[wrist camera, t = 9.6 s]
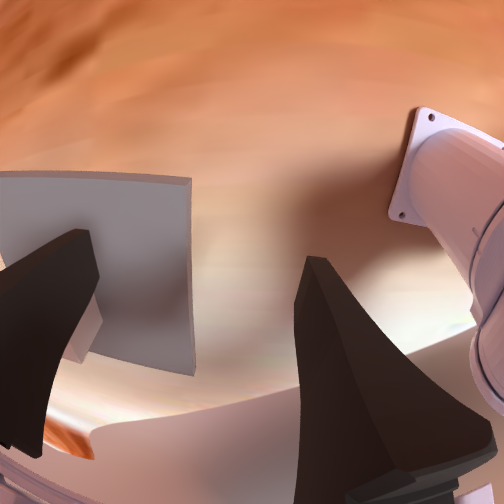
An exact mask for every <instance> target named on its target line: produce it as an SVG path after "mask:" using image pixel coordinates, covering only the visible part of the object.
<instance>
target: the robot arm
mask: <svg viewBox="0 0 504 504" xmlns="http://www.w3.org/2000/svg"><path fill="white" fill-rule="evenodd" d="M429 114H432V119H431V120H429V119H428V116H429ZM502 148H503V150H502ZM401 212H404V213H403V215H402V216H399V214H400V213H401ZM388 216H389V217H390V219H391V220H394V221H399V222H404V223H409V224H413V225H418V226H423V227H428V228H429V229H430V230H431V232H432V233H433V234H434V236H435V237H436V238H437V240H438V241H439V243H440V244H441V246H442V247H443V248H444V250H445V251H446V253H447V254H448V256H449V257H450V259H451V260H452V262H453V263H454V265H455V266H456V268H457V269H458V271H459V272H460V274H461V276H462V277H463V279H464V280H465V282H466V284H467V285H468V287H469V289H470V290H471V292H472V293H473V297H474V298H473V304H472V306H471V309H470V312H471V314H472V316H473V318H474V320H475V321H476V323H477V325H478V327H479V329H478V330H477V331H476V333H475V335H474V337H473V339H472V342H471V347H470V366H471V371H472V374H473V378H474V380H475V382H476V385H477V387H478V389H479V391H480V392H481V394H482V396H483V397H484V399H485V400H486V401H487V403H488V404H489V405H490V406H491V407H492V408H493V409H494V410H495V411H497V412H498V413H499V414H501V415H502V416H504V143H503V142H501V141H499V140H497V139H495V138H493V137H491V136H490V135H488V134H486V133H484V132H482V131H480V130H478V129H475V128H473V127H471V126H469V125H467V124H465V123H463V122H460V121H458V120H456V119H454V118H451V117H449V116H447V115H444V114H442V113H439V112H437V111H434V110H432V109H429V108H426V107H419V108H418V109H417V111H416V114H415V119H414V123H413V127H412V131H411V135H410V139H409V143H408V147H407V150H406V154H405V158H404V161H403V165H402V168H401V172H400V175H399V178H398V182H397V185H396V188H395V191H394V194H393V197H392V200H391V203H390V206H389V209H388ZM99 278H100V275H99V271H98V267H97V263H96V259H95V255H94V250H93V246H92V241H91V236H90V231H89V230H85V229H76V228H75V229H73V230H70V231H68V232H66V233H64V234H62V235H60V236H59V237H57V238H55V239H53V240H51V241H50V242H48V243H46V244H45V245H43V246H41V247H40V248H38V249H36V250H35V251H33V252H32V253H30V254H28V255H27V256H25V257H23V258H22V259H20V260H18V261H17V262H15V263H13V264H12V265H10V266H8V267H7V268H5V269H4V270H2V271H0V445H2V446H3V447H5V448H6V449H8V450H9V449H10V447H11V446H13V447H15V448H17V449H18V450H20V451H22V452H23V453H25V454H27V455H29V456H30V457H32V458H39V457H41V456H42V445H43V432H44V424H45V417H46V411H47V406H48V401H49V397H50V393H51V389H52V385H53V381H54V378H55V375H56V372H57V369H58V366H59V363H60V360H61V358H62V355H63V353H64V351H65V348H66V346H67V344H68V342H69V340H70V338H71V337H72V335H73V333H74V331H75V329H76V327H77V325H78V323H79V321H80V320H81V318H82V316H83V314H84V312H85V310H86V308H87V306H88V305H89V303H90V301H91V298H92V296H93V293H94V291H95V289H96V286H97V283H98V281H99ZM294 337H295V346H296V356H297V365H298V374H299V384H300V398H301V416H300V418H301V419H300V421H301V422H300V442H299V459H298V469H297V480H296V488H295V496H294V503H293V504H494V498H493V492H492V486H491V483H487V484H484V485H482V486H480V487H478V488H476V489H474V490H471V491H469V492H467V493H465V494H462V495H460V496H458V497H455V498H454V496H453V491H454V490H456V489H458V487H459V483H458V477H460V476H462V475H464V474H466V473H468V472H470V471H472V470H473V469H475V468H477V467H479V466H481V465H482V464H484V463H486V462H487V461H489V460H490V459H492V458H493V457H494V456H496V454H497V452H498V449H497V445H496V442H495V438H494V434H493V430H492V427H491V424H490V421H488V420H487V419H485V418H483V417H482V416H480V415H479V414H477V413H476V412H474V411H473V410H471V409H470V408H468V407H466V406H465V405H463V404H462V403H460V402H459V401H458V400H456V399H455V398H454V397H452V396H451V395H450V394H448V393H447V392H446V391H445V390H443V389H442V388H441V387H439V386H438V385H437V384H436V383H435V382H433V381H432V380H431V379H430V378H429V377H427V376H426V375H425V374H424V373H423V372H422V371H421V370H420V369H419V368H418V367H416V366H415V365H414V364H413V363H412V362H411V361H410V360H409V359H408V358H407V357H406V356H405V355H404V354H403V353H402V352H401V351H400V350H399V349H398V348H397V347H396V346H395V345H394V344H393V343H392V342H391V341H390V339H389V338H388V337H387V336H386V335H385V334H384V333H383V332H382V331H381V329H380V328H379V327H378V326H377V325H376V323H375V322H374V321H373V320H372V319H371V317H370V316H369V315H368V314H367V312H366V311H365V310H364V309H363V307H362V306H361V305H360V303H359V302H358V301H357V300H356V298H355V297H354V296H353V294H352V293H351V292H350V290H349V289H348V287H347V286H346V285H345V283H344V282H343V280H342V279H341V278H340V276H339V275H338V274H337V272H336V271H335V269H334V268H333V267H332V265H331V264H330V262H329V261H328V260H327V258H321V257H313V256H307V258H306V262H305V266H304V270H303V273H302V277H301V281H300V284H299V288H298V292H297V295H296V299H295V302H294ZM3 475H4V476H5V477H7V478H8V479H10V480H11V481H13V482H14V483H16V484H18V485H19V486H21V487H22V488H24V489H26V490H27V491H29V492H31V493H32V494H34V495H36V496H38V497H40V498H42V499H43V500H45V501H47V502H49V503H51V504H103V503H100V502H97V501H95V500H92V499H89V498H87V497H84V496H82V495H80V494H77V493H75V492H73V491H70V490H68V489H66V488H64V487H62V486H59V485H57V484H55V483H53V482H51V481H49V480H47V479H45V478H43V477H41V476H40V475H38V474H36V473H34V472H32V471H30V470H29V469H27V468H25V467H23V466H22V465H20V464H18V463H17V462H15V461H14V460H12V459H10V458H9V457H7V456H6V455H4V454H2V453H1V452H0V504H46V503H44V502H43V501H42V500H40V499H38V498H37V497H35V496H33V495H31V494H29V493H27V492H25V491H23V490H21V489H19V488H17V487H15V486H13V485H11V484H9V483H7V482H6V481H5V480H4V476H3Z"/></svg>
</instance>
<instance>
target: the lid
mask: <svg viewBox="0 0 504 504" xmlns="http://www.w3.org/2000/svg"><path fill="white" fill-rule="evenodd" d="M191 191H192V178H188V177H176V176H164V175H151V174H135V173H117V172H93V171H0V253H1V256H2V258H3V261H4V263H5V266H6V268H7V267H8V266H10V265H12V264H13V263H15V262H17V261H18V260H20V259H22V258H23V257H25V256H27V255H28V254H30V253H32V252H33V251H35V250H36V249H38V248H40V247H41V246H43V245H45V244H46V243H48V242H50V241H51V240H53V239H55V238H57V237H59V236H60V235H62V234H64V233H66V232H68V231H70V230H73V229H75V228H76V229H85V230H89V231H90V236H91V241H92V246H93V250H94V255H95V259H96V263H97V267H98V271H99V275H100V278H99V281H98V283H97V286H96V289H95V291H94V293H93V296H92V298H91V301H90V303H89V305H88V306H87V308H86V310H85V312H84V314H83V316H82V318H81V320H80V321H79V323H78V325H77V327H76V329H75V331H74V333H73V335H72V337H71V338H70V340H69V342H68V344H67V346H66V348H65V351H64V353H63V355H62V357H63V358H65V359H68V360H71V361H74V362H77V363H80V364H82V362H83V360H84V358H85V356H86V354H87V352H88V351H90V352H94V353H97V354H100V355H104V356H107V357H111V358H115V359H118V360H122V361H126V362H130V363H134V364H138V365H142V366H146V367H151V368H155V369H160V370H164V371H169V372H174V373H179V374H184V375H190V376H194V373H195V369H196V358H195V342H194V323H193V300H192V263H191Z"/></svg>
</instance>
